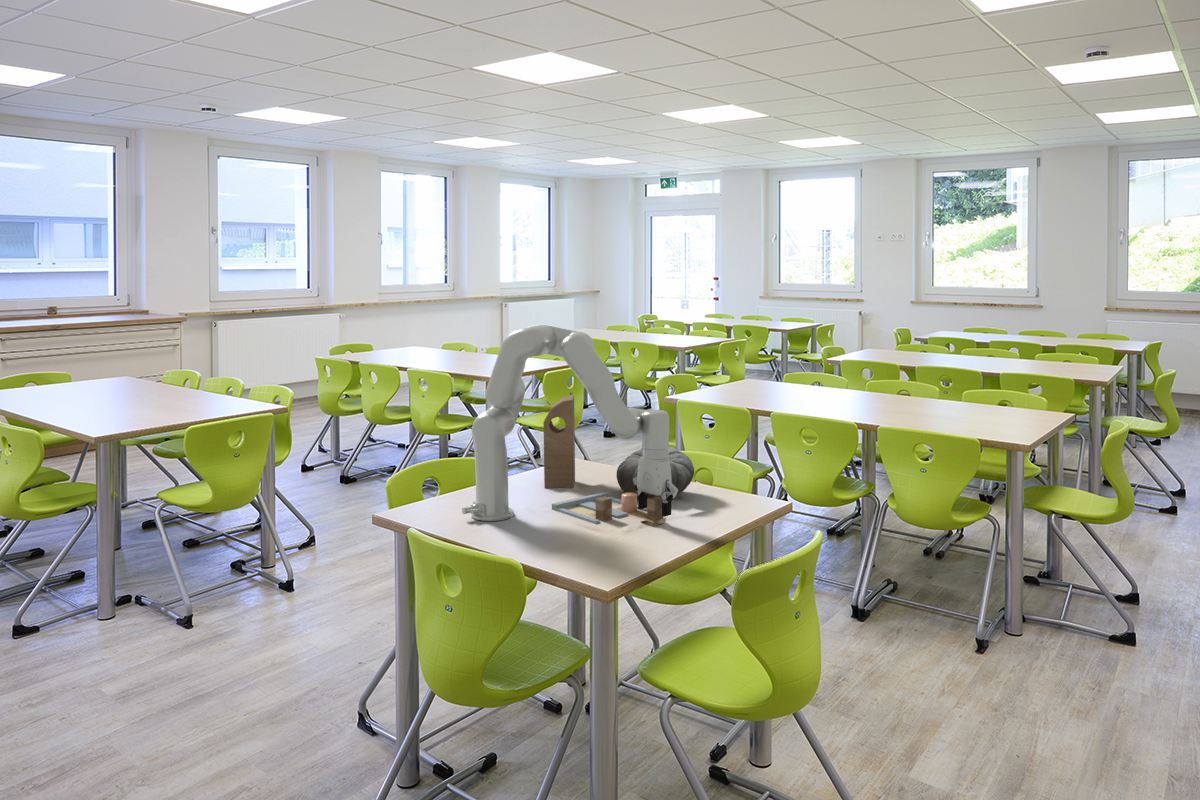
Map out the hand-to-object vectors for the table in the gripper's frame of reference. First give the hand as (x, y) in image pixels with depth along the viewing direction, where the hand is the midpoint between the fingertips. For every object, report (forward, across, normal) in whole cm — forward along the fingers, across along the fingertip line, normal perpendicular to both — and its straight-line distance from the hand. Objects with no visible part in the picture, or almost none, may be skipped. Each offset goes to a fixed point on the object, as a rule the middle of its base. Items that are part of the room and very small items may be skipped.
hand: (654, 511), depth 244 cm
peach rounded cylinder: (+2, -11, 0) cm, 11 cm away
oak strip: (+3, -7, 0) cm, 8 cm away
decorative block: (+4, -54, +8) cm, 54 cm away
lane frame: (+4, -18, -5) cm, 19 cm away
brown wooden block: (+3, -12, -11) cm, 16 cm away
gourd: (+4, -21, +21) cm, 30 cm away
